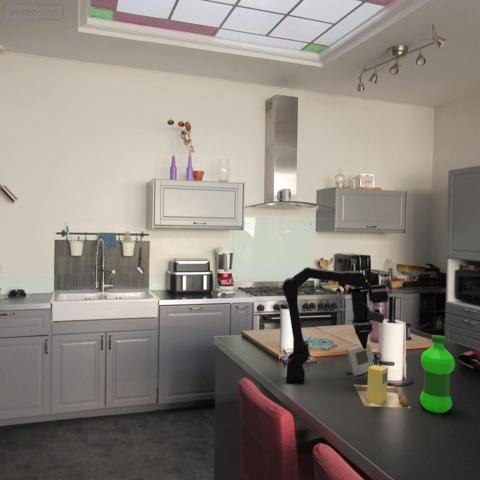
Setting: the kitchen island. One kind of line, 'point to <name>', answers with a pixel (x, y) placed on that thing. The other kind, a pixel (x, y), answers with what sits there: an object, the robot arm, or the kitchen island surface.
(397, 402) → the panel
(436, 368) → the plastic bottle
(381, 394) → the tall mustard yellow pillar
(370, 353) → the digital clock
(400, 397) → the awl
